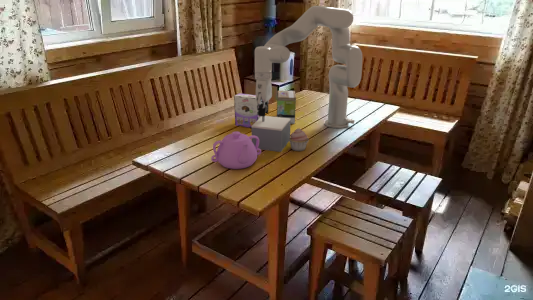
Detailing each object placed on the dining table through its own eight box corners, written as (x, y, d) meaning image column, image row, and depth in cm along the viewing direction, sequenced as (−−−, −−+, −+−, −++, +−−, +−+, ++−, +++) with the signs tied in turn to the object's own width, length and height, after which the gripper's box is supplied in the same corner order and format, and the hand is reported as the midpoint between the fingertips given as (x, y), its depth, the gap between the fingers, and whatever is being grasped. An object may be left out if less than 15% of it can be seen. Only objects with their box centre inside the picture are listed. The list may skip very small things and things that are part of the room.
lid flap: (290, 120, 197) (290, 101, 193) (281, 130, 183) (281, 111, 180) (262, 117, 201) (262, 99, 197) (251, 127, 187) (251, 108, 184)
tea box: (295, 124, 222) (296, 97, 217) (276, 123, 222) (277, 97, 217) (294, 115, 236) (295, 90, 230) (276, 115, 236) (277, 89, 231)
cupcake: (305, 154, 185) (306, 132, 181) (285, 151, 188) (286, 130, 184) (310, 146, 193) (311, 126, 189) (291, 143, 196) (292, 123, 192)
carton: (290, 139, 201) (290, 120, 197) (281, 151, 187) (281, 131, 183) (262, 136, 205) (262, 117, 201) (251, 148, 191) (251, 127, 187)
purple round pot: (221, 180, 161) (220, 147, 155) (206, 159, 179) (204, 129, 174) (273, 171, 169) (273, 139, 163) (253, 151, 187) (253, 122, 182)
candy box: (262, 125, 219) (262, 95, 213) (257, 129, 215) (257, 98, 208) (239, 122, 225) (239, 92, 218) (234, 125, 220) (233, 95, 214)
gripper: (265, 79, 176) (265, 120, 183) (276, 71, 191) (276, 110, 198) (248, 78, 178) (249, 119, 185) (261, 70, 193) (261, 108, 200)
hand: (263, 114), depth 191 cm, fingers closed on lid flap, 4 cm apart
